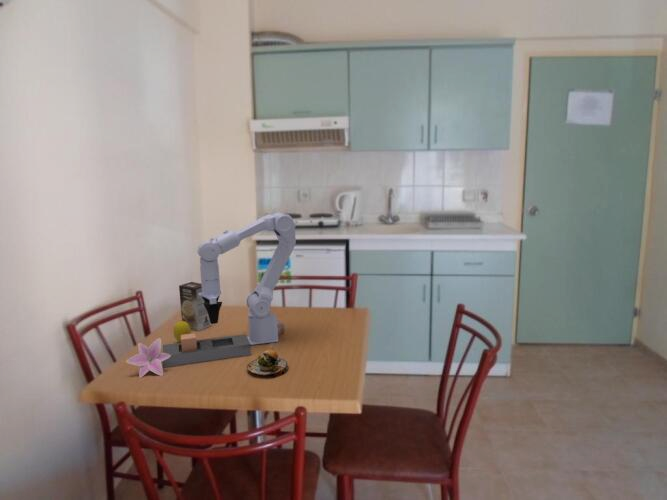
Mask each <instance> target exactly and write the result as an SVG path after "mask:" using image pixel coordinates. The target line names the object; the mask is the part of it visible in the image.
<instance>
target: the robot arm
mask: <svg viewBox="0 0 667 500" xmlns="http://www.w3.org/2000/svg"><path fill="white" fill-rule="evenodd" d="M296 227H297V226H296V223H295V221H294V219H293V217H292V216H291V215H289V214H287V213H283V212H281V211H274V212H272V213H269V214H267V215H264V216H262V217H259V219H256V220H255V221H253V222H251V223H249V224H248V225H245V226H243V227H242V228H239V229H238V230H233V229H230V230H227V229H225V230H223V231H222V233H221V234H220V235H217V236H215V237H210V238H209V240H207V241H206V240H204V241H203V242H201V243H200V244H199V245H198V246H197V247H198V248H197V254H198V256H199V263H200V265H199V270H200V272H199V273H200V283H201V285H202V293H198V295H199V296H202V298H203V300H204V301H205V302H204V306H205V308H206V310H207V312H208V315H209V319H210V325H213V324H215V325H216V324H218V323H219V318H220V317H219V316H220V310H221V307H222V305H223V301H219V299H220V296H221V295H222V291H221V283H220V279H221V278H220V270H219V268H220V267H219V262H218V258H219V256H220V255H223V254H225V253H227V252H229V251H231V250H233V249H236V248H237V247H239V246H240V245H241V244H240V243H241V241H242V240H245V239H247V238H249V237H251V236H254V235H256V234H258V233H260V232H262V231H269V232H274V234H275V236H276V238H277V240H278V243H277V244H278V245H277V246H276V248H275V251H274V252H273V255H272V257H271V259H270V261H269V262H268V265H267V268H265V271H264V273H263V276H262V278H261V280H260V282H259V284H258V285H256V287H255V288H253V289H254V290H253V291H252V292H251V293H250V294H249V295H248V296H247V298H246V307H248V308H249V312H248V313H247V318H248V331H249V332H248V336H247V335H246V336H247V338H248V340H249V343H250V346H253V345H262V344H267V343H268V344H269V343H270V344H271V343H275V342H276V343H277V342H279V334H278V333H279V330H278V319H277V313H275V312H272V313H271V308H272V304H271V303H272V301H273V299H274V297H273V296H274V290H275V288H276V286H277V284H278V282H279V279H280V277H281V275H282V274H283V271H284V269H285V268H286V265H287V263H288V261H289V260H290V258H291V254H292V252H293V251H294V249H295V246H296V244H297V243H296V242H297V241H296Z"/></svg>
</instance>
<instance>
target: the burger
mask: <svg viewBox="0 0 667 500" xmlns="http://www.w3.org/2000/svg"><path fill="white" fill-rule="evenodd" d="M274 346H275V345H273V346H272V349H267V350H264V351H263V353H262V355H263V357H262V356H261V355H260V354H259V355H258V357H257V359H254V360H252V361H250V362H249V363H248V364H247V365H246V369H247V370H248V371H249V372H250V373H252V374H255V375H259V376H270V375H272V376H273V375H274V378H276V377H280V376H282V372H284V373H287V371H288V368H289V366H288V362H287V360H285V359H283V358H280V357H279V355H278V353H277V351H275V350H273V349H274Z"/></svg>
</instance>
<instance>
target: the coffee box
mask: <svg viewBox="0 0 667 500" xmlns="http://www.w3.org/2000/svg"><path fill="white" fill-rule="evenodd" d="M178 288H179V289H178V290H179V299H180V300H179V301H180V316H181V320H182V321H185V322H187V323H188V324H189V326H190V329H191V330H193V331H197V332H199V331H202V330H204V329H207V328H209V327H211V325H212V324H211V323H210V319H209V315H208V312H207V310H206V308H205V306H204V302H205V301H204V300H203V298H202V296H199V295H198V293H202V285H201V282H200V283H199V282H195V281H190V282H187V283H183V284H180V285H178Z"/></svg>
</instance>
